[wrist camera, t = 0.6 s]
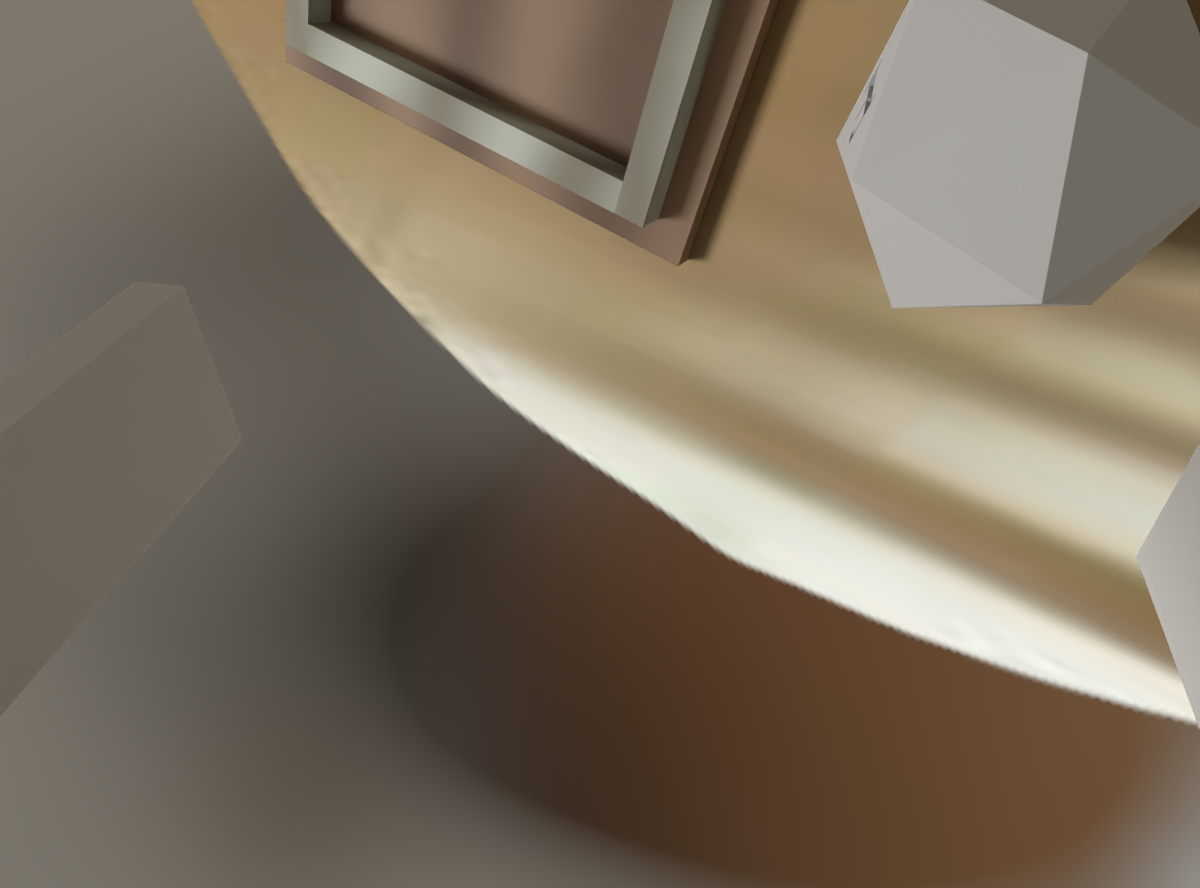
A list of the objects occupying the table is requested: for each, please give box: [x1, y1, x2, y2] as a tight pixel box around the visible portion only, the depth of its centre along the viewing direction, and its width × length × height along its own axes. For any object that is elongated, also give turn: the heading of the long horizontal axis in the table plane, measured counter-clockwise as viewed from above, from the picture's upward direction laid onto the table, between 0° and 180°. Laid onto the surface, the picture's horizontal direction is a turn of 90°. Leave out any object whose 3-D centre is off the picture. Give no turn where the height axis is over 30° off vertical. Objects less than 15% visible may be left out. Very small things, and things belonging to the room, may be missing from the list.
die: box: [837, 0, 1200, 308], centre depth 21 cm, size 8×9×10 cm
